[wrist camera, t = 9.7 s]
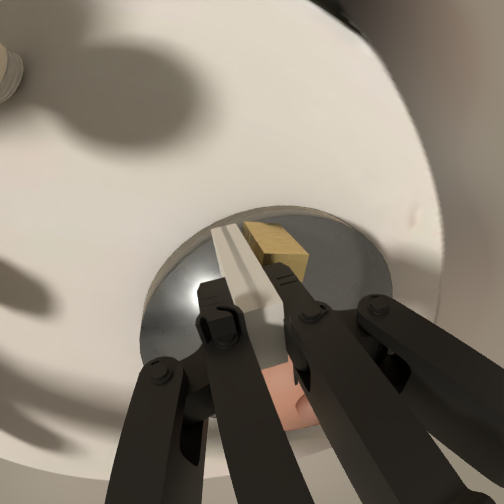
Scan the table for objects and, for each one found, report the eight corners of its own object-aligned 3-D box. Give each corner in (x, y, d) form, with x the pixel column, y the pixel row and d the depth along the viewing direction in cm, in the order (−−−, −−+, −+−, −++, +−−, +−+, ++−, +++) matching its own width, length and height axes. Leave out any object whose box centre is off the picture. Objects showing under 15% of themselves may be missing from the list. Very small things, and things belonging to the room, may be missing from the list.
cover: (233, 385, 20) (252, 451, 15) (246, 306, 17) (276, 383, 12) (322, 374, 22) (352, 428, 17) (352, 301, 19) (401, 357, 14)
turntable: (154, 404, 23) (157, 460, 17) (136, 196, 15) (110, 236, 9) (336, 386, 28) (360, 427, 23) (403, 219, 20) (459, 252, 15)
